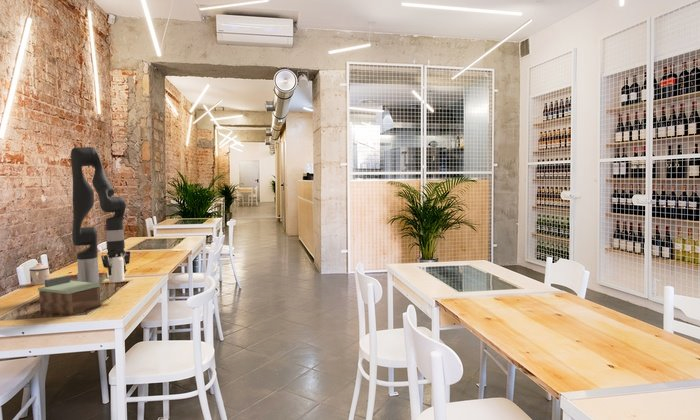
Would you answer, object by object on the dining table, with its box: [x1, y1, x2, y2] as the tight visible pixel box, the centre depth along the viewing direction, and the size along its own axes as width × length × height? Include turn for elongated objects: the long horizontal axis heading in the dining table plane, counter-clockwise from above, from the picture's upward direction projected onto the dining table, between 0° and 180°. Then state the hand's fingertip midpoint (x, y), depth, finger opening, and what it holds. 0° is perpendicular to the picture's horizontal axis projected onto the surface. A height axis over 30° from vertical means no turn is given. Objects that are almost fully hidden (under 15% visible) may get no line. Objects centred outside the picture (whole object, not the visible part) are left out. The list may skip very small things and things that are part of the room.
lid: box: [37, 275, 101, 294], centre depth 197 cm, size 20×15×4 cm
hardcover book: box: [65, 272, 108, 283], centre depth 255 cm, size 12×21×4 cm, turn 108°
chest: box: [38, 286, 101, 316], centre depth 198 cm, size 20×14×9 cm
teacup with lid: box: [29, 262, 50, 286], centre depth 250 cm, size 12×9×12 cm
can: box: [108, 256, 125, 284], centre depth 210 cm, size 6×6×12 cm
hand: (117, 274), depth 210 cm, fingers closed on can, 5 cm apart
